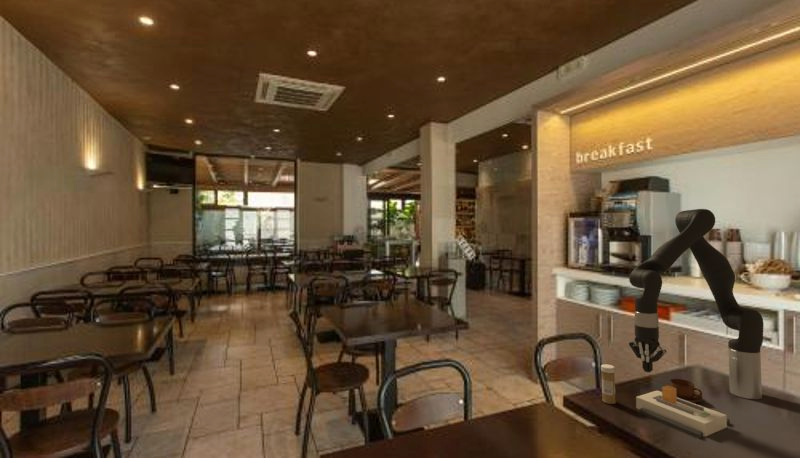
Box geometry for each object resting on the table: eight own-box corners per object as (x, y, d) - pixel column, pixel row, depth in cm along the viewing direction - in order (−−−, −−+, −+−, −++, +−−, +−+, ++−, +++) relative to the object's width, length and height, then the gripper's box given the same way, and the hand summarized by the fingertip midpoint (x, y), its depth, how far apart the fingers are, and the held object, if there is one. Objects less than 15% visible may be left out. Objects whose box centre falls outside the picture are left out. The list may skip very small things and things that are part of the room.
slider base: (657, 400, 146) (657, 387, 146) (726, 427, 126) (726, 411, 126) (636, 407, 141) (636, 394, 141) (705, 436, 121) (704, 420, 121)
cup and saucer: (700, 396, 149) (700, 379, 149) (704, 408, 139) (703, 391, 139) (663, 389, 156) (662, 374, 156) (663, 401, 146) (663, 384, 146)
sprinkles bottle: (618, 402, 146) (617, 366, 146) (611, 405, 143) (610, 368, 143) (606, 398, 149) (605, 362, 149) (599, 401, 147) (598, 365, 147)
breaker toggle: (667, 398, 138) (667, 385, 138) (676, 401, 135) (676, 388, 135) (662, 400, 137) (661, 387, 137) (671, 403, 134) (670, 390, 134)
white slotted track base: (669, 400, 145) (669, 397, 145) (733, 424, 127) (733, 420, 127) (636, 412, 138) (636, 408, 138) (699, 438, 119) (699, 435, 119)
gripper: (671, 326, 138) (672, 375, 138) (635, 319, 150) (636, 364, 150) (658, 329, 135) (659, 379, 135) (622, 321, 147) (623, 367, 147)
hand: (647, 371), depth 143 cm, fingers closed
